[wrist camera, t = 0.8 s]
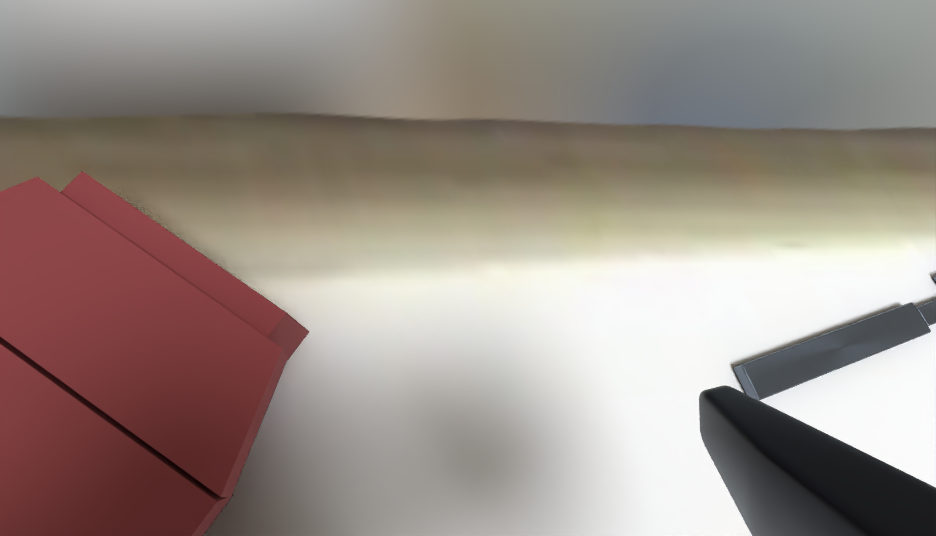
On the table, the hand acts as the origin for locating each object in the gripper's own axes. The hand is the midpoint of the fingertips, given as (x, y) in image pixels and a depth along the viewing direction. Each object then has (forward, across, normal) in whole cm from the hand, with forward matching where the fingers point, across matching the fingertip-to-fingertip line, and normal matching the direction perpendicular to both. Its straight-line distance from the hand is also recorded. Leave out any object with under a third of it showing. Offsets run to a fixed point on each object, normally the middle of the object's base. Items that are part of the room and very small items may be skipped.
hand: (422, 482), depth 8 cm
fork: (+14, -21, +12) cm, 28 cm away
